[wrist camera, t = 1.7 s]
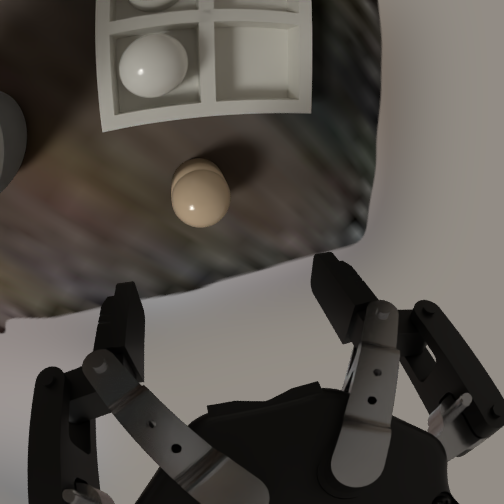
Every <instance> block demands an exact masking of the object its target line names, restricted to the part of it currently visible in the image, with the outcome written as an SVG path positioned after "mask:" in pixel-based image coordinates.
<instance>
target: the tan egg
mask: <svg viewBox="0 0 504 504" xmlns="http://www.w3.org/2000/svg"><path fill="white" fill-rule="evenodd" d="M171 200H172V206H173V209H174V211H175V213H176V215H177V216H178V218H179V219H180V220H182V221H183V222H184V223H186V224H188V225H190V226H193V227H201V228H202V227H208V226H211V225H214V224H215V223H217V222H218V221H220V220H221V219H222V218H223V217H224V216H225V214H226V213H227V211H228V209H229V206H230V201H231V194H230V189H229V186H228V184H227V182H226V180H225V178H224V176H223V174H222V172H221V171H220V169H219V168H218V166H217V165H216V164H215V163H213V162H212V161H210V160H207V159H203V158H194V159H190V160H187V161H185V162H184V163H182V164H181V165H180V166H179V167H178V168H177V169H176V171H175V172H174V174H173V177H172V187H171Z"/></svg>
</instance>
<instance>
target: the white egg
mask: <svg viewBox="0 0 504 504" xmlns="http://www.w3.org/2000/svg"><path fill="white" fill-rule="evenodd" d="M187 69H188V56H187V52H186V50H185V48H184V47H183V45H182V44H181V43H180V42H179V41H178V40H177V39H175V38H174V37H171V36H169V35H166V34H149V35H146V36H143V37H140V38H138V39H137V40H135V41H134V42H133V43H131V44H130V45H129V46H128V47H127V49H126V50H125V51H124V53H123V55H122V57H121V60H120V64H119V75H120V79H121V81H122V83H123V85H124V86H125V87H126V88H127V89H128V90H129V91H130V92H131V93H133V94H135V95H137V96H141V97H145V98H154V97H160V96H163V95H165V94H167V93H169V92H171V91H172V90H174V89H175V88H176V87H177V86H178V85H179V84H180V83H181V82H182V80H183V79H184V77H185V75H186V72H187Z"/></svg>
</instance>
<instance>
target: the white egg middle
mask: <svg viewBox="0 0 504 504" xmlns="http://www.w3.org/2000/svg"><path fill="white" fill-rule="evenodd" d="M128 1H129V3H130V4H131V5H132V7H134V8H135V9H137V10H139V11H142V12H159V11H163V10H165V9H168V8H170V7H171V6H173V5H174V4H176V3H177V2H178V1H179V0H128Z"/></svg>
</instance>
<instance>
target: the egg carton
mask: <svg viewBox="0 0 504 504" xmlns="http://www.w3.org/2000/svg"><path fill="white" fill-rule="evenodd" d="M149 34H166V35H169V36H171V37H174V38H175V39H177V40H178V41H179V42H180V43H181V44H182V45H183V47H184V48H185V50H186V52H187V56H188V69H187V72H186V75H185V77H184V79H183V80H182V82H181V83H180V84H179V85H178V86H177V87H176V88H175V89H174V90H172V91H171V92H169V93H167V94H165V95H163V96H160V97H154V98H145V97H141V96H137V95H135V94H133V93H131V92H130V91H129V90H128V89H127V88H126V87H125V86H124V85H123V83H122V81H121V79H120V75H119V64H120V60H121V57H122V55H123V53H124V51H125V50H126V49H127V47H128V46H129V45H130V44H131V43H133V42H134V41H135V40H137V39H138V38H140V37H143V36H146V35H149ZM95 45H96V70H97V85H98V97H99V107H100V116H101V124H102V132H106V131H111V130H116V129H121V128H126V127H131V126H137V125H143V124H149V123H156V122H163V121H170V120H178V119H186V118H195V117H206V116H218V115H233V114H254V113H311V98H312V3H311V0H179V1H178V2H177V3H176V4H174V5H173V6H171V7H170V8H168V9H165V10H163V11H159V12H142V11H139V10H137V9H135V8H134V7H132V5H131V4H130V3H129V1H128V0H96V15H95Z"/></svg>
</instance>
